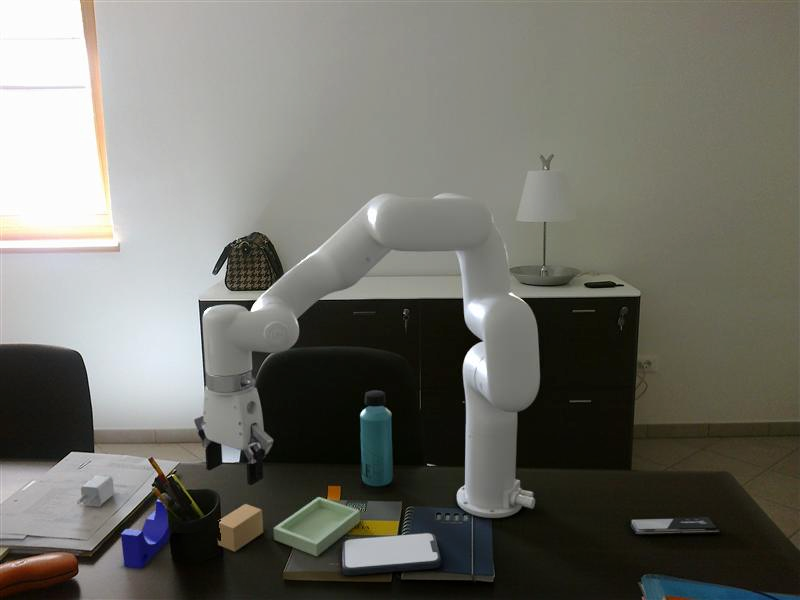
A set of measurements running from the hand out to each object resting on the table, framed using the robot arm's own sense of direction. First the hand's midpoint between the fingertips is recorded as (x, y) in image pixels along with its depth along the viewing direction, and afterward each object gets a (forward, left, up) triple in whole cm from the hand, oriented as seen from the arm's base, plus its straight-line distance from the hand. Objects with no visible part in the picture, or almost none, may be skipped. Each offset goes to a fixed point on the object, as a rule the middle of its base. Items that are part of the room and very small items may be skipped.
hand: (234, 474), depth 116 cm
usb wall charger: (+33, +6, -13) cm, 36 cm away
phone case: (-26, -9, -13) cm, 30 cm away
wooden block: (0, 0, -12) cm, 12 cm away
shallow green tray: (-10, -9, -12) cm, 18 cm away
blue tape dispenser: (+12, +10, -13) cm, 20 cm away
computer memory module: (-64, -42, -12) cm, 78 cm away
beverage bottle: (-10, -28, -13) cm, 32 cm away
